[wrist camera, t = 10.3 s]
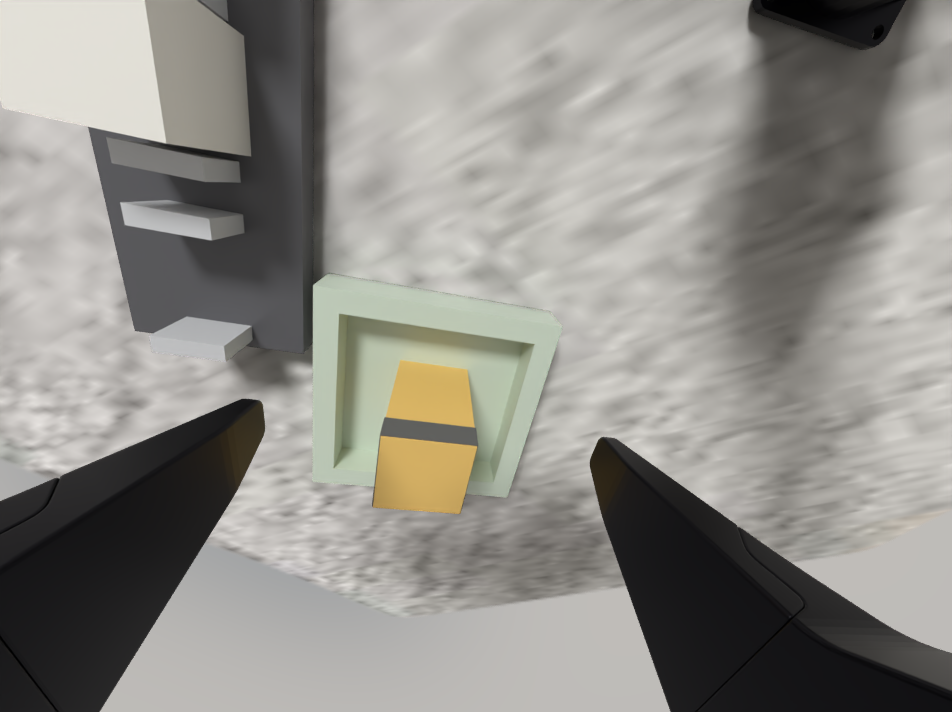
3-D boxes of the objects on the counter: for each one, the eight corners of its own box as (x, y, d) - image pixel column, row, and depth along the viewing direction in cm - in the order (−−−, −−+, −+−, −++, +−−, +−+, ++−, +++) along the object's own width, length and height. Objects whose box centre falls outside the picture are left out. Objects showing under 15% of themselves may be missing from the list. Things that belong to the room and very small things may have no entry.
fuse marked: (468, 368, 21) (478, 446, 15) (456, 423, 23) (460, 514, 16) (399, 358, 20) (379, 436, 14) (392, 416, 22) (371, 508, 16)
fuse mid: (243, 35, 13) (138, -43, 9) (251, 156, 15) (166, 143, 10) (121, 3, 12) (-62, -101, 8) (144, 133, 14) (3, 108, 10)
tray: (549, 311, 20) (562, 326, 18) (501, 470, 26) (507, 497, 23) (328, 273, 18) (313, 285, 16) (324, 453, 24) (312, 481, 21)
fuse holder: (314, -293, 11) (251, -526, 7) (312, 342, 20) (284, 376, 16) (11, -419, 10) (-246, -777, 6) (157, 320, 19) (89, 352, 15)
